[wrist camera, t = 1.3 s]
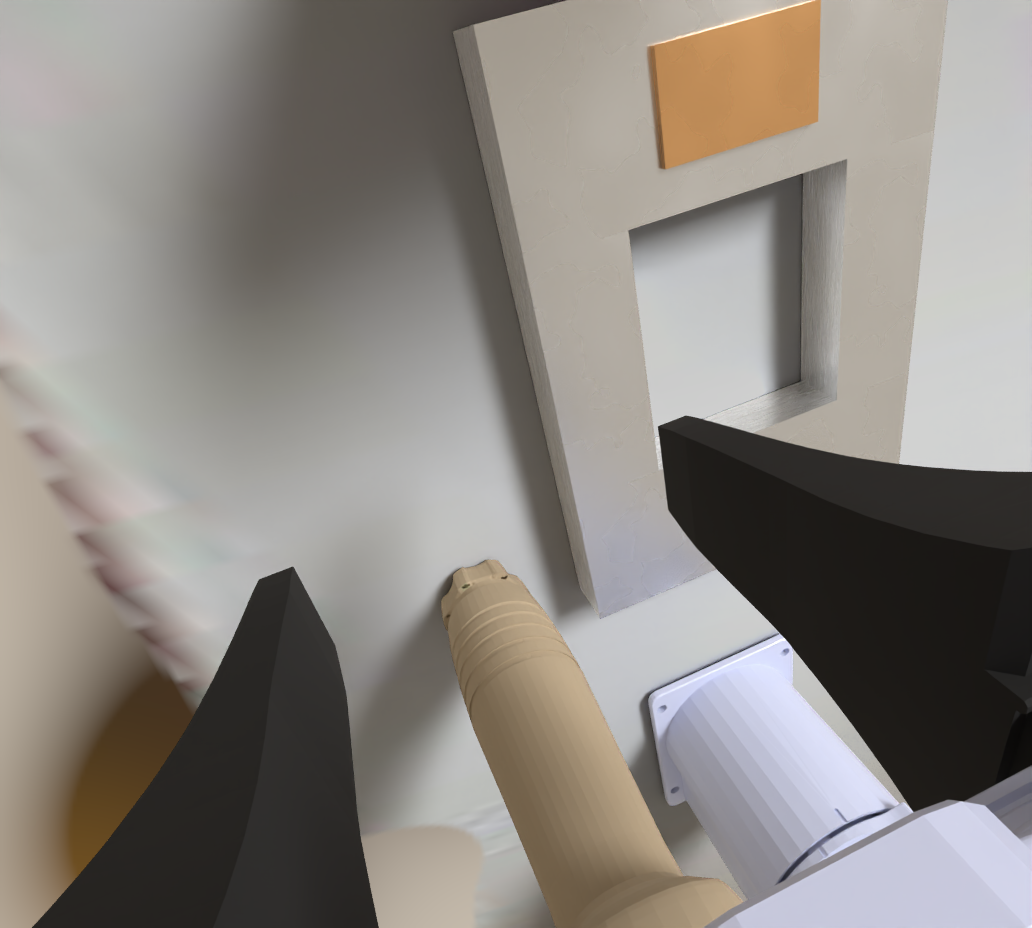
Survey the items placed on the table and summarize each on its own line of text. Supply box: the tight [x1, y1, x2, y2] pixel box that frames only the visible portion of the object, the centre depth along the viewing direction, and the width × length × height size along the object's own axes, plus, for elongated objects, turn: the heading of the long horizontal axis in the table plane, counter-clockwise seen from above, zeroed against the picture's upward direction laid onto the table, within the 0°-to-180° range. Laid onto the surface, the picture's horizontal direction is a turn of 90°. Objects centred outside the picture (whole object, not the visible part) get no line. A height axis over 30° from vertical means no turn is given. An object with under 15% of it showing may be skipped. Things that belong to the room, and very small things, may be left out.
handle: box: [441, 560, 743, 928], centre depth 20 cm, size 5×6×15 cm
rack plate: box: [453, 0, 948, 619], centre depth 23 cm, size 20×14×2 cm
